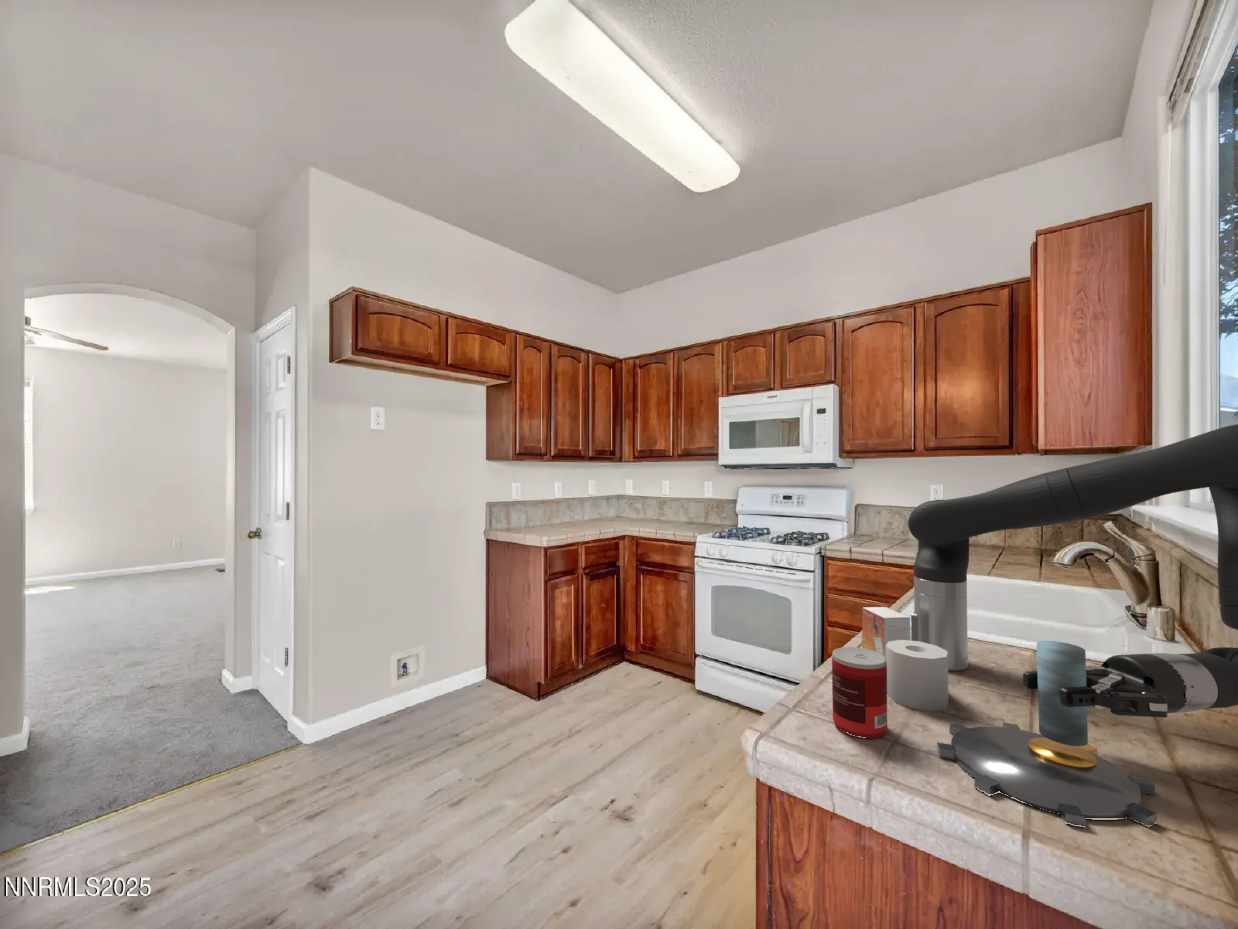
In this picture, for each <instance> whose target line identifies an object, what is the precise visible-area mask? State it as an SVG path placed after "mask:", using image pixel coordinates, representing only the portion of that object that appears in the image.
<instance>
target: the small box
mask: <svg viewBox="0 0 1238 929" xmlns="http://www.w3.org/2000/svg"><path fill="white" fill-rule="evenodd" d="M861 611H862V616H861V617H862V618H861V619H862V622H861V623H862V625H861V626H862V627H861V628H862V629H861V632H862V633H861V635H862V636H861V644H862V645H861V648H864V649H869V650H872V651H875V652H878V653H880V654H882V655H883V656H884V657H885V658H886V645H887V643H888V642H889V641H896V640H909V641H911V616H908V615H904V614H902V613H900V612H897V611H896V610H893V609H891V608H889V607H887V606H871V607H869V606H866V607H862V610H861Z"/></svg>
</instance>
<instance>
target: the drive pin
mask: <svg viewBox="0 0 1238 929" xmlns="http://www.w3.org/2000/svg"><path fill="white" fill-rule="evenodd" d="M1086 653H1087V652H1086V649H1084V648H1083V647H1081V646H1078V645H1076V644H1071V643H1067V642H1062V641H1057V640H1056V641H1055V640H1040V641H1037V642H1036V664H1037V665H1036V666H1037V667H1036V668H1037V670H1036V671H1037V673H1038V689H1037V700H1038V701H1037V703H1038V704H1037V705H1038V706H1037V707H1038V708H1037V709H1038V710H1037V711H1038V712H1037V713H1038V732H1039V734H1041V735H1043V736H1044V737H1046V738H1048V739H1050V740H1052V741H1055V742H1058V743H1061V744H1065V745H1070V746H1085V745H1087V744H1088V745H1089V737H1088V736H1089V735H1088V734H1089V733H1088V732H1089V731H1088V730H1089V729H1088V726H1089V725H1088V706H1082V707H1067V706H1064V705H1062V704H1061V702H1060V690H1061V689H1062V688H1070V687H1086V667H1087V662H1086V658H1087V657H1086V655H1087V654H1086Z"/></svg>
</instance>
